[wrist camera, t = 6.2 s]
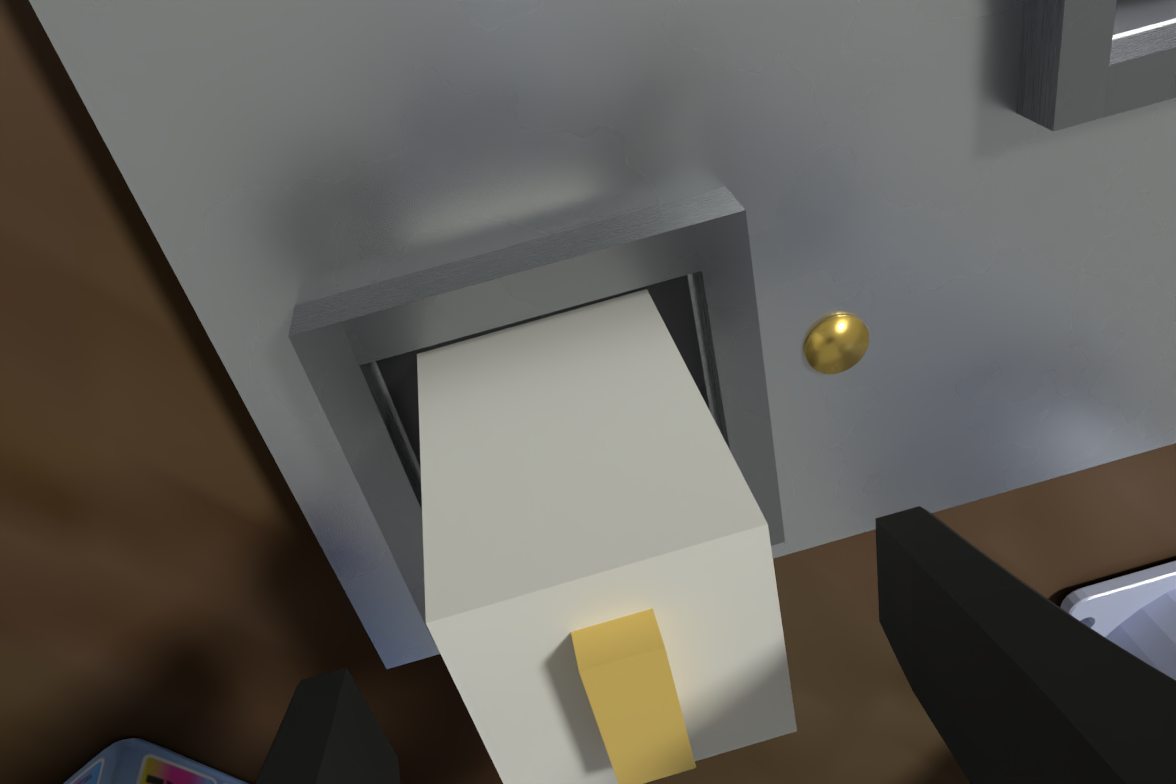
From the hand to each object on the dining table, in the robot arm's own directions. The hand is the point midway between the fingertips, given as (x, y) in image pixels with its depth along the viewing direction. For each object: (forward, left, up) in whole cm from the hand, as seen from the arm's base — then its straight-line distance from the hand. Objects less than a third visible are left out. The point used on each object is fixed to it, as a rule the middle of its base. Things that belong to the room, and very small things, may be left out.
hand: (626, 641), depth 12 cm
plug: (0, 0, -5) cm, 5 cm away
